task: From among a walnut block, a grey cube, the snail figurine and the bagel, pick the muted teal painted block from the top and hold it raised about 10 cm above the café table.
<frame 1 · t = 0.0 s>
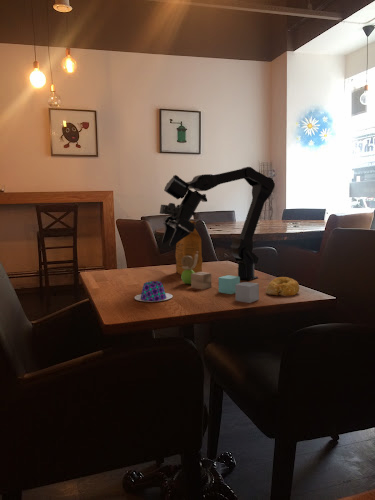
hand: (166, 244, 146), 15 cm above the table, tool tilted 35°, fingers open, 9 cm apart
grey cube: (247, 300, 125), on the table
bagel: (282, 294, 133), on the table
pudding: (153, 299, 130), on the table
coffee package: (188, 273, 172), on the table
teal block: (229, 292, 137), on the table
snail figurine: (190, 284, 151), on the table
walnut block: (201, 287, 145), on the table
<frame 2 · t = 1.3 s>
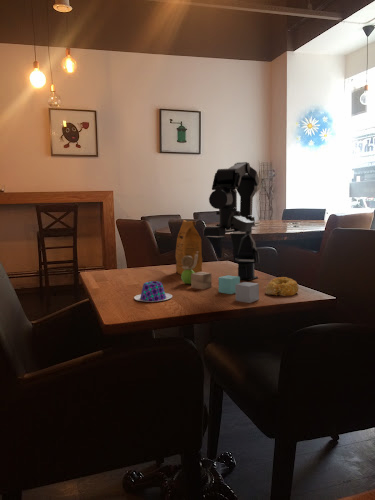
hand: (228, 256, 135), 12 cm above the table, tool pointing down, fingers open, 9 cm apart
nothing on the table moved.
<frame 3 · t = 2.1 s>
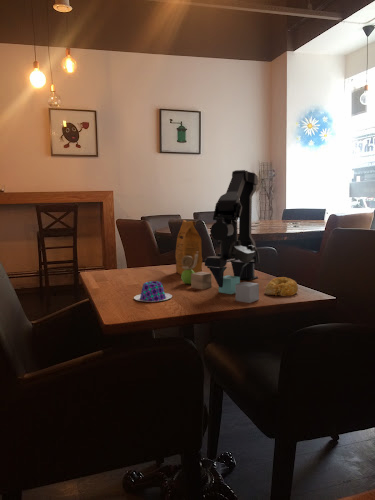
hand: (229, 284, 136), 2 cm above the table, tool pointing down, fingers open, 9 cm apart
nothing on the table moved.
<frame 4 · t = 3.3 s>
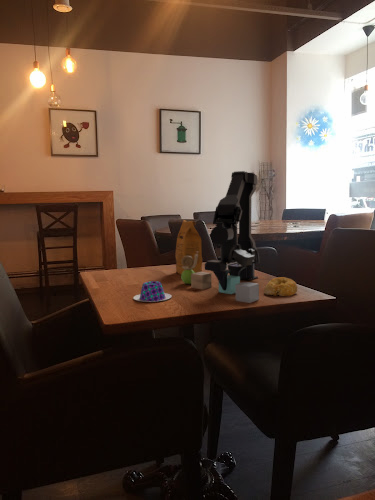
hand: (229, 288, 136), 1 cm above the table, tool pointing down, fingers closed on teal block, 5 cm apart
teal block: (229, 291, 137), on the table, touching gripper
everything else where it was.
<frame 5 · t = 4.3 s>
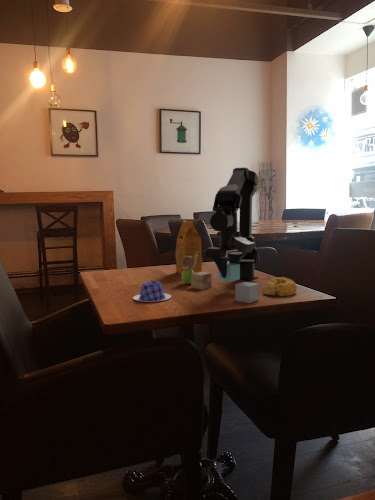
hand: (229, 276, 136), 5 cm above the table, tool pointing down, fingers closed on teal block, 5 cm apart
teal block: (229, 279, 136), point 4 cm above the table, touching gripper
everything else where it was.
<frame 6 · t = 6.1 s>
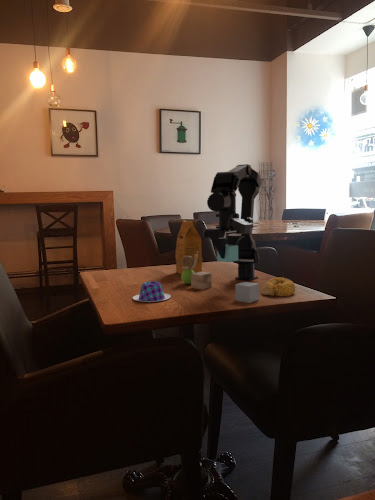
hand: (227, 257, 138), 11 cm above the table, tool pointing down, fingers closed on teal block, 5 cm apart
teal block: (227, 260, 138), point 10 cm above the table, touching gripper
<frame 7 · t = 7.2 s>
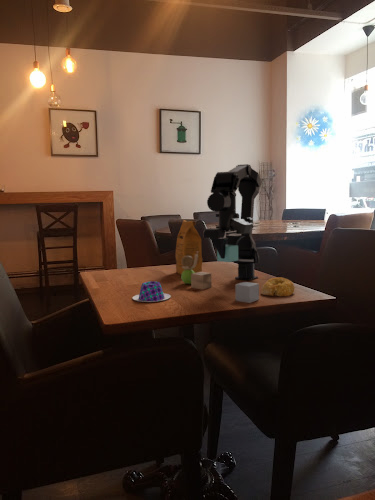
hand: (227, 257, 138), 11 cm above the table, tool pointing down, fingers closed on teal block, 5 cm apart
teal block: (227, 260, 138), point 10 cm above the table, touching gripper
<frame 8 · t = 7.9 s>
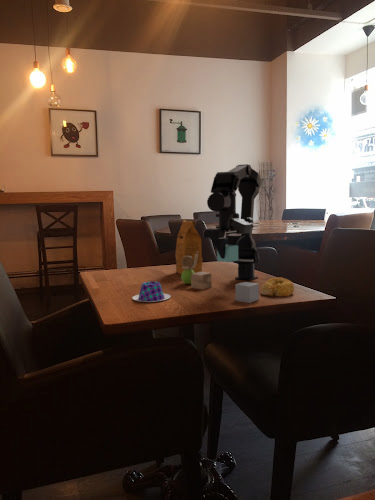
hand: (227, 257, 138), 11 cm above the table, tool pointing down, fingers closed on teal block, 5 cm apart
teal block: (227, 260, 138), point 10 cm above the table, touching gripper
at the end: the gripper is holding teal block; teal block point 9.9 cm above the table; grey cube moved 0.1 cm from its start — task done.
